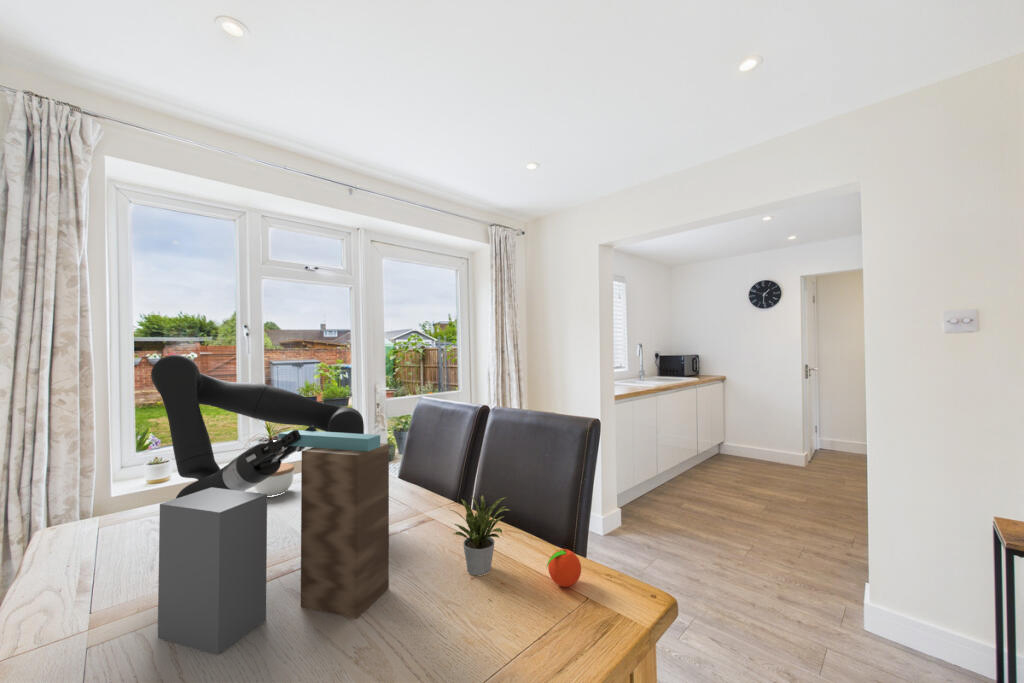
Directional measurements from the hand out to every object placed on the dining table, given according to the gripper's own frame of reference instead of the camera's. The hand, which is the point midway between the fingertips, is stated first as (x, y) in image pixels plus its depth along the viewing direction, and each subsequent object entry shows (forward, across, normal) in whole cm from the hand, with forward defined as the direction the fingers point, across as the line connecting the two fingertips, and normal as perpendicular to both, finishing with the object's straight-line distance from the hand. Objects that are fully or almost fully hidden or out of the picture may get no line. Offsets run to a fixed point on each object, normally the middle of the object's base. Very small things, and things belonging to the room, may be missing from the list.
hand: (306, 431), depth 85 cm
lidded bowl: (-65, +43, +1) cm, 78 cm away
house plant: (+12, +18, +45) cm, 50 cm away
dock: (-22, -14, +25) cm, 36 cm away
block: (+4, 0, +5) cm, 6 cm away
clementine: (+28, +16, +54) cm, 63 cm away
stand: (-8, 0, +33) cm, 34 cm away
